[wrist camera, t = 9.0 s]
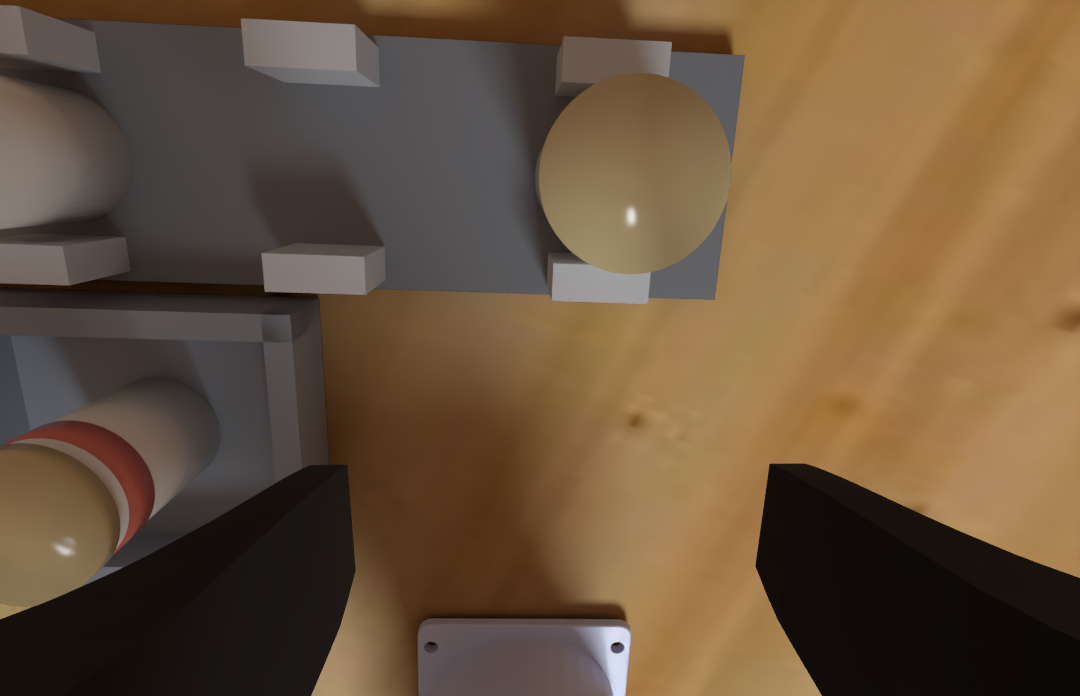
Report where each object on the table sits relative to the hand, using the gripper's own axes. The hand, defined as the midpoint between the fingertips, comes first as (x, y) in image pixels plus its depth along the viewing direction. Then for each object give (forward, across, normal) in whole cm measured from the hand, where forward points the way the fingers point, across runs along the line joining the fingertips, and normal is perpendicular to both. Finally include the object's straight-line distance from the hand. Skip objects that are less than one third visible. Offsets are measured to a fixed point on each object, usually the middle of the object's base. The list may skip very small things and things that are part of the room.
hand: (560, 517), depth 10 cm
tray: (+10, +12, +3) cm, 16 cm away
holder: (+10, +6, -6) cm, 13 cm away
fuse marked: (+9, +12, +2) cm, 15 cm away
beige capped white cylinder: (+9, -2, -6) cm, 11 cm away
